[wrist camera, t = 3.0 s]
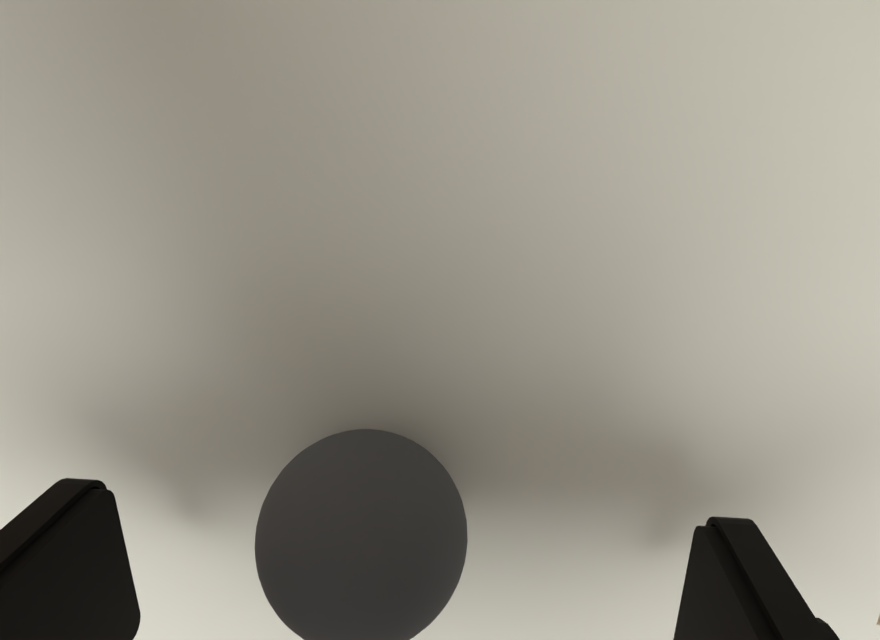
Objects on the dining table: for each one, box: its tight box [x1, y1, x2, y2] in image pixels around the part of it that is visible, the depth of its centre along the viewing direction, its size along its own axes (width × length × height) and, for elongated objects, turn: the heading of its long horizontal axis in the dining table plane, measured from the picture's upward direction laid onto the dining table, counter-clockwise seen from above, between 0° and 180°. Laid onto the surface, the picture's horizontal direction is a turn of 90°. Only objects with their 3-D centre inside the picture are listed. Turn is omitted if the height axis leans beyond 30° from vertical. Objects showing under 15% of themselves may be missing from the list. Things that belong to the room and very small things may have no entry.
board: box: [0, 0, 880, 640], centre depth 12 cm, size 32×20×2 cm, turn 90°
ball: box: [255, 429, 468, 640], centre depth 10 cm, size 4×4×4 cm
